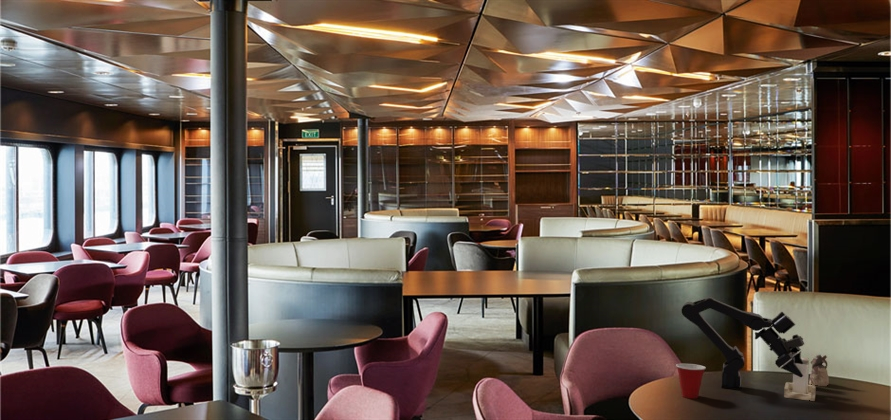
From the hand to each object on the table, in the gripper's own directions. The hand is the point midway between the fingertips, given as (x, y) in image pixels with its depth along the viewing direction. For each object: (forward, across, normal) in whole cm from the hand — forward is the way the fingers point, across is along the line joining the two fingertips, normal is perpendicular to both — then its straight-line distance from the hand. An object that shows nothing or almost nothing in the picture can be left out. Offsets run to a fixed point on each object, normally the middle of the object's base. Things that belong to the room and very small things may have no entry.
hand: (804, 374), depth 290 cm
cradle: (+5, +6, +8) cm, 11 cm away
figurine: (+7, +23, +5) cm, 24 cm away
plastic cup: (-19, -26, +31) cm, 45 cm away
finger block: (+5, 0, +6) cm, 8 cm away
